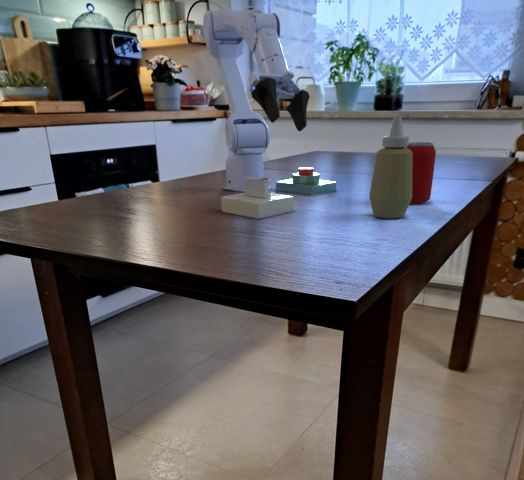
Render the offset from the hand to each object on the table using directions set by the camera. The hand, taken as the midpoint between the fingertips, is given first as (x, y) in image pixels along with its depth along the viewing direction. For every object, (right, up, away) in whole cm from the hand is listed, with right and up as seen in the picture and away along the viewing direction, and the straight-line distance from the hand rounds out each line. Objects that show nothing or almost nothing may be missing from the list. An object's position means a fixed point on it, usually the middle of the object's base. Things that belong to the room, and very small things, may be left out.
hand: (289, 123), depth 104 cm
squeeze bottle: (+19, -19, -3) cm, 28 cm away
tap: (-7, -14, +2) cm, 16 cm away
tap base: (-6, -17, +4) cm, 18 cm away
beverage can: (+28, -13, +10) cm, 32 cm away
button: (+5, -2, +24) cm, 24 cm away
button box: (+5, -6, +25) cm, 26 cm away
